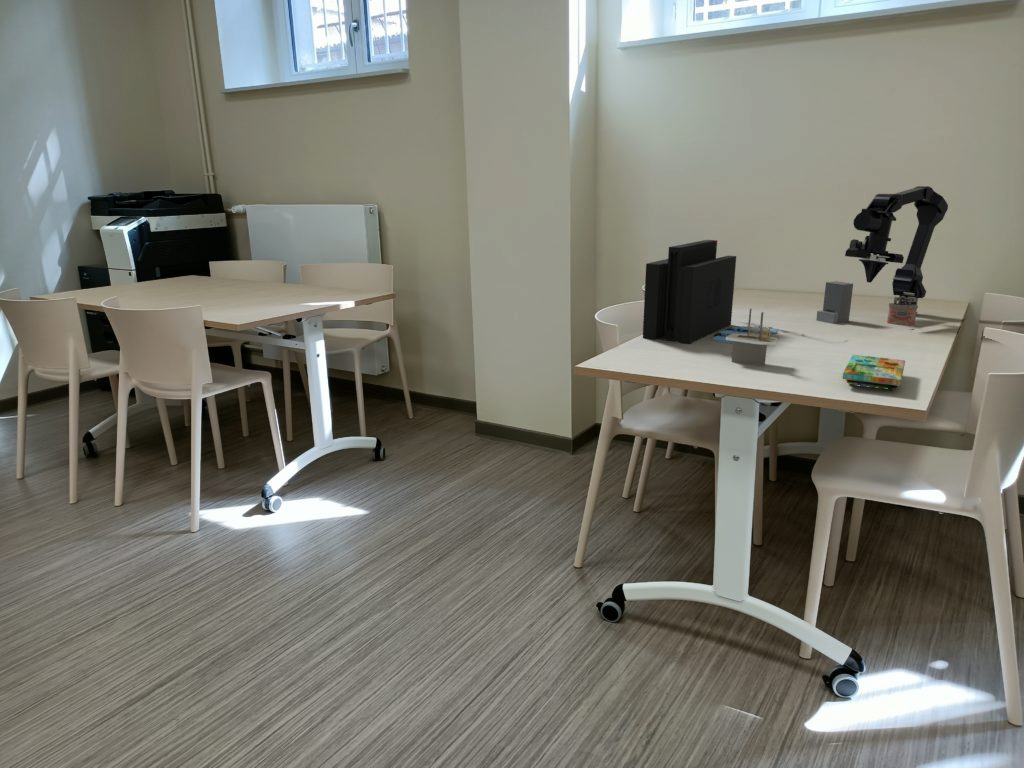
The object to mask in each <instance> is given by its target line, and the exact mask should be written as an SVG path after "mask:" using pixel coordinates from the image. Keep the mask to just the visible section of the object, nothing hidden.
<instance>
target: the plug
mask: <svg viewBox="0 0 1024 768" xmlns="http://www.w3.org/2000/svg"><path fill="white" fill-rule="evenodd" d="M853 288H854V283H850V282H844V281H837V280H836V281H835V280H834V281H826V282H825V289H824V294H823V296H824V297H823V306H822V311H827V312H833V313H838V314H839V315H838V323H837V324H839V323H841V324H842V323H847V322H849V321H850V314H851V307H852V298H853V297H852V296H853Z"/></svg>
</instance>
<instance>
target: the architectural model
mask: <svg viewBox="0 0 1024 768" xmlns="http://www.w3.org/2000/svg"><path fill="white" fill-rule="evenodd" d="M748 314H749V315H748V326H747V327H748V334H731V335H728V336H726V340H731V341H733V343H732V352H731V363H736V364H737V363H738V364H739V363H740V364H746V365H753V366H761V367H762V365H763V367H765V366H766V357H767V349H768V348H767V346H768V345H769V346H772V345H774V344H776V343H777V339H778V338H777V337H775V336H774V337H773V336H771V334H770V329H772V328H771V327H763V322H764V311H761V314H760V323H759V324H760V325H759V326H751V320H752V319H751V318H752V308H749V313H748ZM750 327H752V328H753V332H754V335H752V333H751V330H750ZM754 328H757V332H758V335H756V333H755V329H754ZM758 328H760V333H759V329H758ZM762 328H763V329H765V330H763V329H762ZM768 330H769V336H768ZM763 331H765V332H764V333H766V336H764V333H763ZM749 333H750V334H749Z"/></svg>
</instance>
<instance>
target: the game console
mask: <svg viewBox="0 0 1024 768" xmlns="http://www.w3.org/2000/svg"><path fill="white" fill-rule="evenodd" d="M717 247H718V240H717V239H716V240H715V239H703V240H698V241H694V242H693V241H692V242H688V243H683V244H678V245H671V246H668V254H667V255H668V256H667V258H666V259H660V260H657V261H651V262H647V263H645V277H644V278H645V281H644V282H645V283H644V298H643V299H644V302H643V319H642V320H643V321H642V322H643V323H642V324H643V325H642V339H648V340H654V341H657V340H659V341H666V342H672V343H673V342H674V343H679V344H683V345H685V344H686V345H690V344H693V343H694V342H697V341H700V340H701V339H703V338H705V337H707V336H710V335H712V334H714V335H713V336H714V337H712V338H711V341H715V342H717V343H718V342H719V343H726V342H728V343H727V344H733V341H731V340H726V336H728V335H731V334H748V326H747V325H746V326H745V325H742V326H741V325H740V326H739V325H737V326H735V327H734V326H732V319H733V318H732V315H733V305H734V291H735V277H736V265H737V255H725V256H721V257H717V251H718V250H717V249H718V248H717ZM730 326H731V328H728V327H730ZM752 327H753V326H750V330H751V333H752V335H754V332H753V328H752ZM763 328H764V327H762V329H763ZM754 329H755V333H756V335H758V332H757V328H754ZM758 329H759V333H760V328H758ZM763 330H765V329H763ZM778 331H779V330H775V329H773V328H771V329H770V333H776V334H777V332H778ZM716 332H717V333H716ZM764 332H765V331H763V333H764ZM749 334H750V333H749ZM764 336H766V333H764ZM768 337H769V330H768Z"/></svg>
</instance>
